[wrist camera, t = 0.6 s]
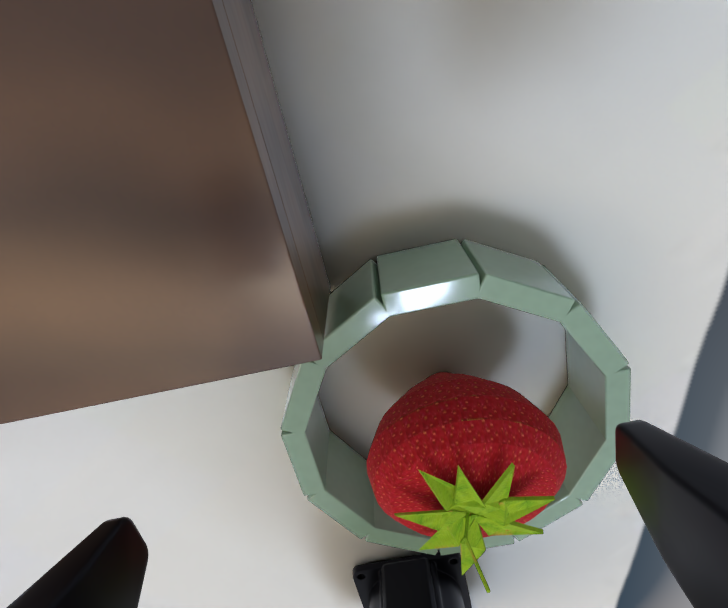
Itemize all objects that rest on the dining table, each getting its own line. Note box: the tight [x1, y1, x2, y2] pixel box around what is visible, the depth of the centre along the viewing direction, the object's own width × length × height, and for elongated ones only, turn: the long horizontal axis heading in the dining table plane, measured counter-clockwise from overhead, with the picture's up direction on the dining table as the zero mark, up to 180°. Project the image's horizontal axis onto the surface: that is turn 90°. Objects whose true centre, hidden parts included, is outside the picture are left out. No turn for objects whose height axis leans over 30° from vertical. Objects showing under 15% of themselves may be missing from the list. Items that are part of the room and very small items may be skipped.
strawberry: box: [367, 372, 567, 593], centre depth 19 cm, size 6×8×10 cm
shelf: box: [0, 0, 330, 424], centre depth 16 cm, size 12×14×6 cm
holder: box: [281, 239, 631, 556], centre depth 22 cm, size 14×14×4 cm
